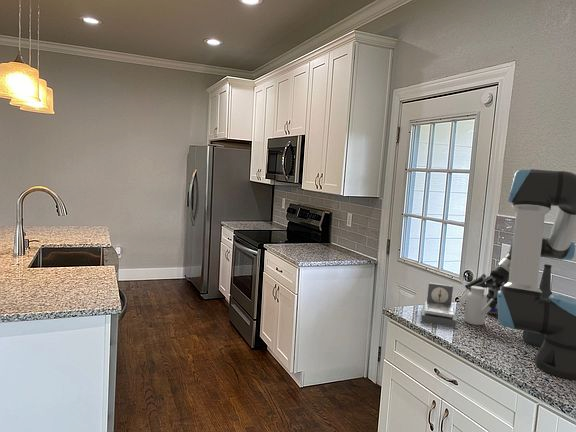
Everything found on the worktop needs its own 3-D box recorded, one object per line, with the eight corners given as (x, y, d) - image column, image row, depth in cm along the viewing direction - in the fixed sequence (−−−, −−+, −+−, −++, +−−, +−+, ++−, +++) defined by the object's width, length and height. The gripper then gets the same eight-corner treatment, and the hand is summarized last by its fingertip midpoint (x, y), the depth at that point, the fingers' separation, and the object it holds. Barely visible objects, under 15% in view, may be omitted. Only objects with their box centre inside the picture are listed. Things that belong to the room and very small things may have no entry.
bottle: (550, 341, 167) (561, 264, 164) (555, 350, 158) (567, 269, 155) (520, 336, 170) (530, 260, 168) (523, 344, 161) (534, 264, 159)
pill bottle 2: (481, 311, 200) (484, 288, 199) (490, 310, 203) (492, 287, 202) (493, 316, 195) (496, 292, 194) (502, 314, 198) (505, 291, 197)
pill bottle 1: (459, 319, 186) (463, 285, 185) (475, 318, 189) (479, 284, 187) (472, 326, 179) (476, 290, 177) (488, 325, 181) (492, 290, 180)
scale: (455, 327, 175) (458, 296, 174) (421, 322, 179) (424, 291, 178) (453, 315, 192) (456, 286, 191) (422, 310, 196) (425, 281, 195)
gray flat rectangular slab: (453, 317, 175) (453, 314, 175) (424, 313, 179) (425, 310, 179) (452, 308, 189) (452, 305, 188) (425, 304, 192) (425, 301, 192)
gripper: (532, 285, 175) (498, 323, 172) (486, 270, 199) (455, 303, 195) (524, 272, 173) (489, 310, 170) (478, 259, 196) (447, 292, 193)
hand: (471, 307), depth 182 cm, fingers open, 13 cm apart
